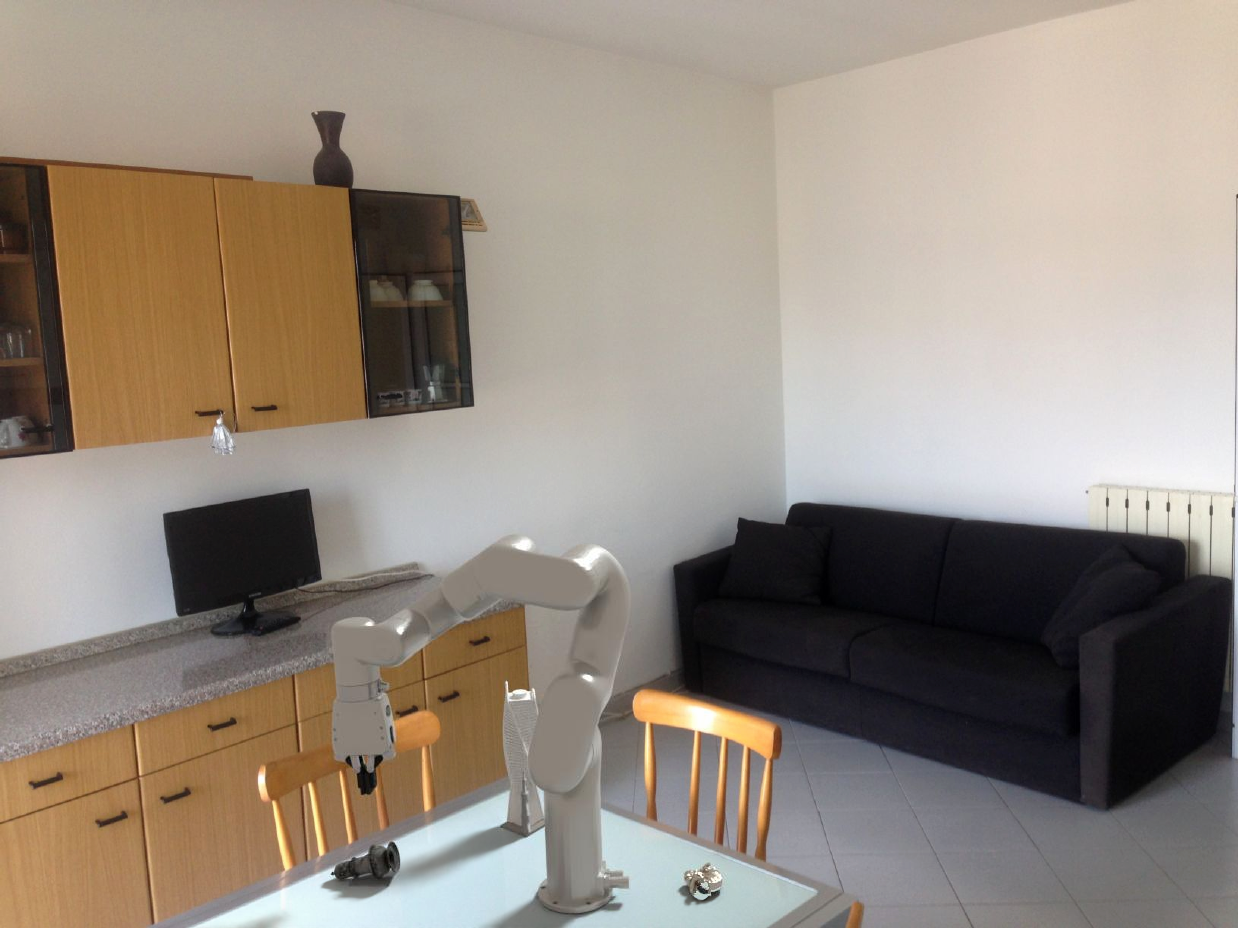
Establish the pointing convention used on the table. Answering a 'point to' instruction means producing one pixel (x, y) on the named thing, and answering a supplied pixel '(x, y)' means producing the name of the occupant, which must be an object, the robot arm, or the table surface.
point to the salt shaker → (370, 863)
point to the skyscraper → (520, 762)
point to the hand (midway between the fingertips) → (368, 791)
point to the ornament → (703, 878)
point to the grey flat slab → (372, 880)
